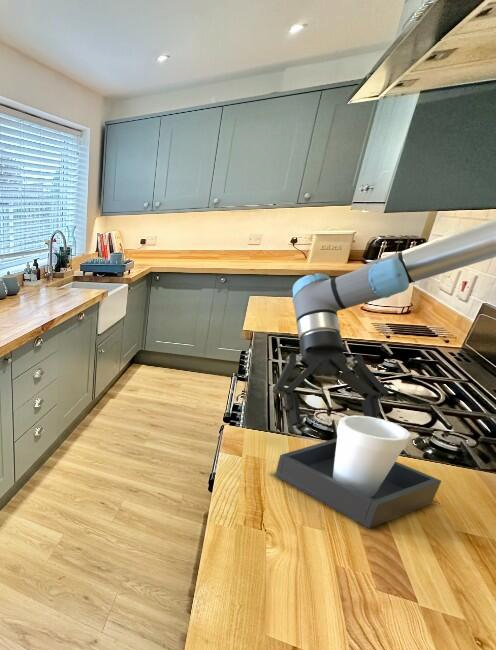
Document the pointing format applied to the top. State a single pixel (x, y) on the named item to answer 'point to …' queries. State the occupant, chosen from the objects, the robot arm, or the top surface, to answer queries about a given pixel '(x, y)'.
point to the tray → (388, 503)
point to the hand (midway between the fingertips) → (333, 426)
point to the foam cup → (367, 451)
